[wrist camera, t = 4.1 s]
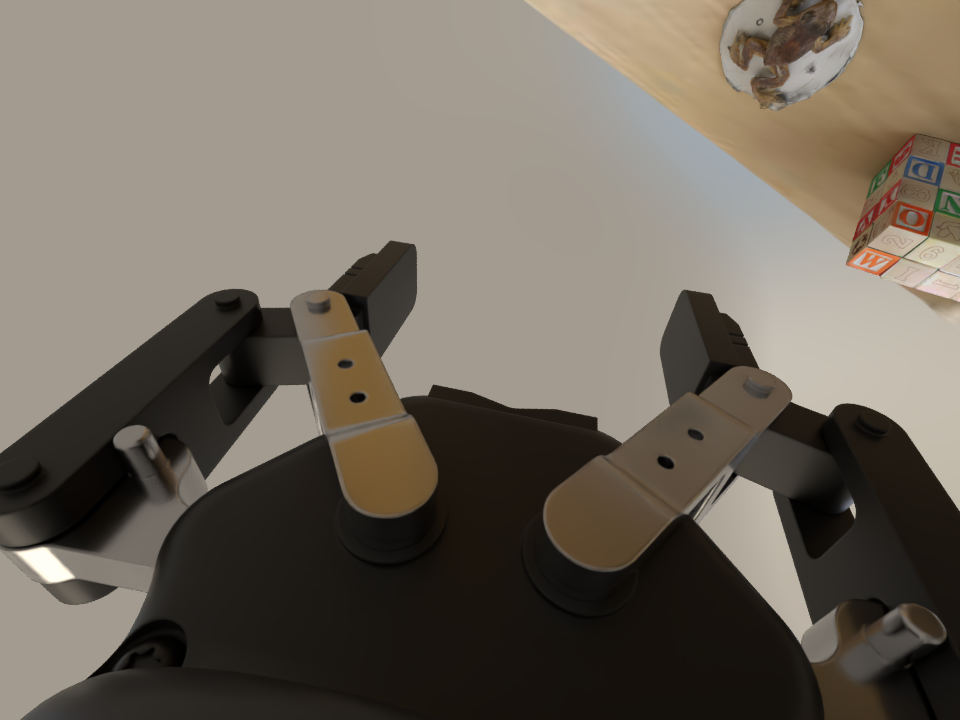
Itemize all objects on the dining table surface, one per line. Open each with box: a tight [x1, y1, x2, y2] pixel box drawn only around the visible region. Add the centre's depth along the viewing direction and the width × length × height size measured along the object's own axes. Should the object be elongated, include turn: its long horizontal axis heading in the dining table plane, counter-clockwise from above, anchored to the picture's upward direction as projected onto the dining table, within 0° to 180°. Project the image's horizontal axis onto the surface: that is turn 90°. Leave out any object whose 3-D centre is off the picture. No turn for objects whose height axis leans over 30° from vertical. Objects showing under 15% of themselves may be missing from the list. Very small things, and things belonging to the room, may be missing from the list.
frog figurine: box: [719, 0, 863, 111], centre depth 41 cm, size 12×12×4 cm
